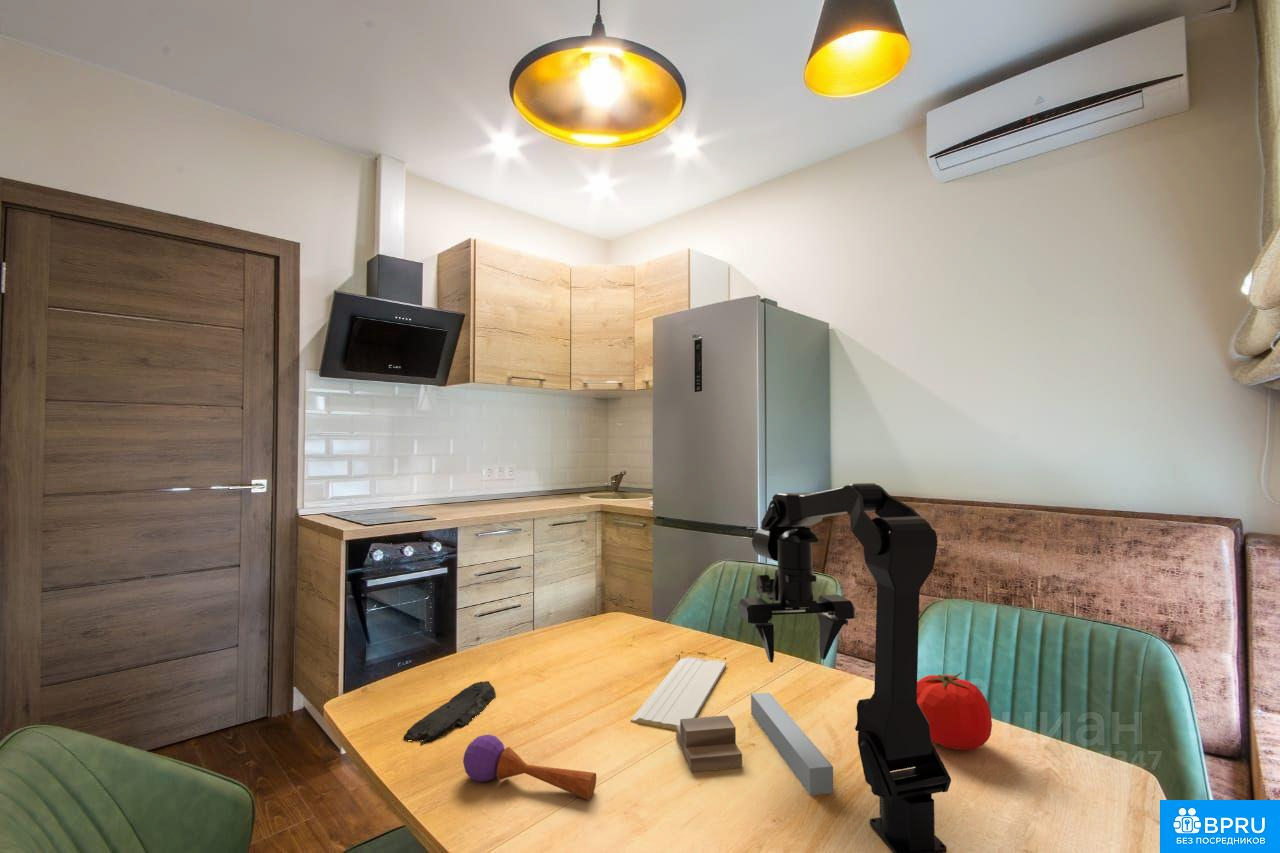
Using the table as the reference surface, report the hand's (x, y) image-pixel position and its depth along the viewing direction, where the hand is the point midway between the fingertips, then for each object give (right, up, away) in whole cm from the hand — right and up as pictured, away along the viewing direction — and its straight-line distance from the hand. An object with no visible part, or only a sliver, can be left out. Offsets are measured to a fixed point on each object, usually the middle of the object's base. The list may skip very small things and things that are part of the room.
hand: (796, 660), depth 94 cm
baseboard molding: (-18, -14, +18) cm, 29 cm away
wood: (-60, -14, +8) cm, 61 cm away
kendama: (-43, -13, -14) cm, 47 cm away
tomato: (+24, -13, -3) cm, 28 cm away
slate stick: (-3, -13, -4) cm, 14 cm away
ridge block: (-16, -13, -5) cm, 21 cm away
